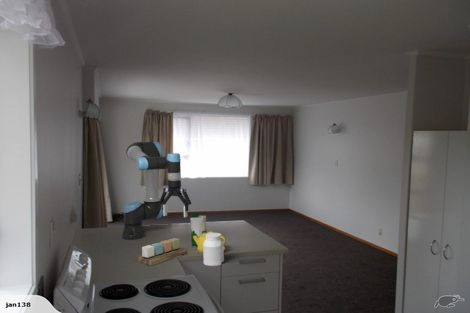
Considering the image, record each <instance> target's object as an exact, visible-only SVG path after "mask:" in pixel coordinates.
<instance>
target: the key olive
mask: <svg viewBox="0 0 470 313" xmlns="http://www.w3.org/2000/svg"><path fill="white" fill-rule="evenodd" d="M167 241H171V244H172V249H173V250H174V249H177V248H181V247H180V246H181V245H180V243H181V242H180V238H176V237H173V238H170V239H168V240H167Z"/></svg>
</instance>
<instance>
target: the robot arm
mask: <svg viewBox="0 0 470 313" xmlns="http://www.w3.org/2000/svg"><path fill="white" fill-rule="evenodd" d="M125 153H126V156H127V158H129V159H130V160H133V161H134V162H136V168H137V170H138V171H144V172H145V173H144V174H145V175H144V176H145V199H143V202H141V201H140V200H139V201H132V202H128V203H126V204H125V205H124V206H123V223H124V224H123V225H124V226H123V229H122V233H121V238H122V240H137V239H139V240H140V239H142V238H145V236H146V232H145V229H144V227H143V221H148V220H156V219H161V218H162V217H165V216H168V204H167V202H168V201H169V200H170V198H171V197H177V198H179V200H180V201H181V202H182V204H183V218H187V217H188V212H189V206H190V205H192V201H191V199H190V197H189V195H188V193H187V189H186V188H182V181H181V179H182V177H181V176H182V174H181V160H182V159H181V154H180V153H177V152H176V153H175V152H173V153H167V155H165V156H163V149H162V145H161V144H160V142H159V141H137V142H133V143H131V144H129V146H128V147H127V148H126V152H125ZM159 170H167V180H168V181H167V187H164V188H162V189H163V190H162V194H161V197H160V198H159ZM167 193H168V194H167Z"/></svg>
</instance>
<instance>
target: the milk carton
mask: <svg viewBox="0 0 470 313" xmlns="http://www.w3.org/2000/svg"><path fill="white" fill-rule="evenodd" d="M204 233H207V215H199V212H193V213H191V217H190V234H191V236H190V237H191V247H192V246H198V245H197V244H196V242H195V240H194V238H193V236H197V237H198V238H199V236H201V235H202V234H204Z"/></svg>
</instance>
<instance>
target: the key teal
mask: <svg viewBox="0 0 470 313" xmlns="http://www.w3.org/2000/svg"><path fill="white" fill-rule="evenodd" d="M150 245H151V246H154V254H155V255H158V254H161V253H163V244H161V243H160V242H155V243H152V244H150Z"/></svg>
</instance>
